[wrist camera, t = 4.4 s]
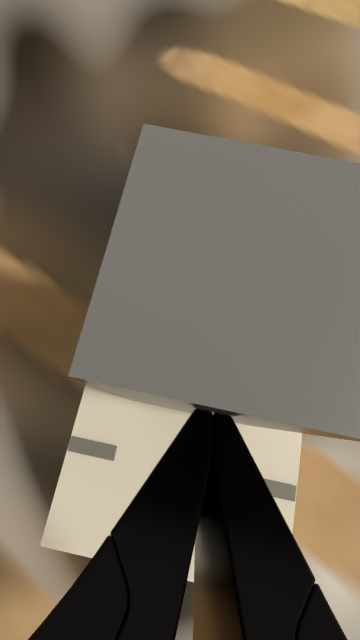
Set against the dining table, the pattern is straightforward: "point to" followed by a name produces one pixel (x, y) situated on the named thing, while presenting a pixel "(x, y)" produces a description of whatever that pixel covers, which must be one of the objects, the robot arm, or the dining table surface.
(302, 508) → the dining table surface
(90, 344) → the gray block
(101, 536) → the plate
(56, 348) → the dining table surface
